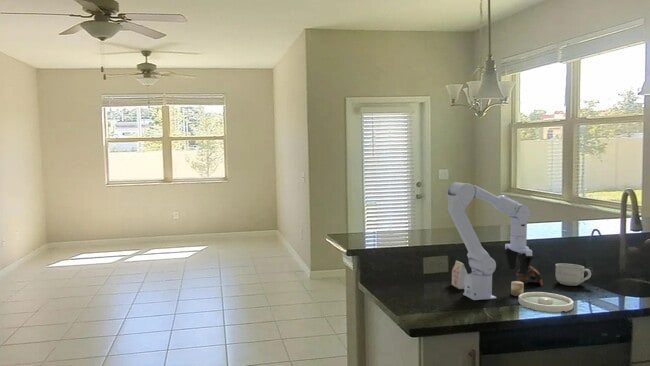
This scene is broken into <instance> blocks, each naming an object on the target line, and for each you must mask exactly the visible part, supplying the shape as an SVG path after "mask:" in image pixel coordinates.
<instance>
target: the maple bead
mask: <svg viewBox="0 0 650 366" xmlns="http://www.w3.org/2000/svg"><path fill="white" fill-rule="evenodd" d="M510 283H511V285H510V294H511V295H512V296H514V297H515V296H516V297H519V295H520V294H523V293H524V290H525V288H524V286H525V285H524V282H522V281H517V280H515V281H513V280H512V281H511V282H510Z"/></svg>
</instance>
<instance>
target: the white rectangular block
mask: <svg viewBox="0 0 650 366" xmlns="http://www.w3.org/2000/svg"><path fill="white" fill-rule="evenodd" d="M467 271H468V270H467V269H466V267H465V263H463V262H461V261H459V260H455V262H454V265H453V267H452V269H451V286H453V287H455V288H456V289H458V290H464V281H465V276H466V275H467V274H469V273H468V272H467Z"/></svg>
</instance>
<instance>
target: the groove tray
mask: <svg viewBox="0 0 650 366" xmlns="http://www.w3.org/2000/svg"><path fill="white" fill-rule="evenodd" d="M574 301H575V300H573V299H572V298H570V297H568V296H565V295H562V294H557V293H553V292H552V293H551V292H543V291H531V292H530V291H529V292H523V294H520V295H519V296H518V303H519V305H520V306H522V307H525V308H527V309H530V308H531V310H534V309H535V311H540V310H541V312H546V311H547V313H548V312H550V313H563V312H562V311H565V312H569V311H572V310H573V308H574Z"/></svg>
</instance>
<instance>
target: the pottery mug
mask: <svg viewBox="0 0 650 366" xmlns="http://www.w3.org/2000/svg"><path fill="white" fill-rule="evenodd" d="M515 275H516V281H519V282H522V281H525V280H526V281H529V278H530V281H535V280H536V282H538V284H539V285H540V287H542V286H543V285H544V283H543V279H542V276H541V273H540V271H538V270H537V268H536V267H534V266H532V265H529V267H528V271H527V274H521V272H520V269H519V270H517V272H516V273H515Z"/></svg>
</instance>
